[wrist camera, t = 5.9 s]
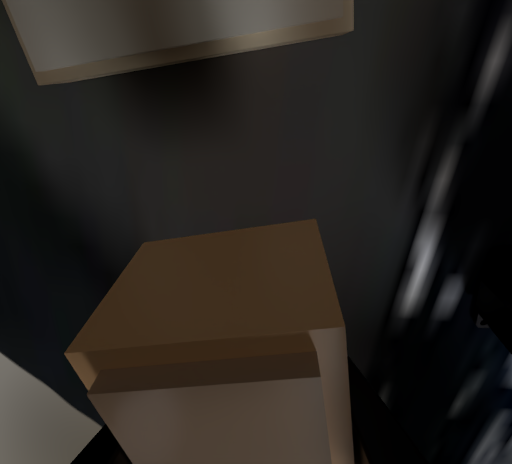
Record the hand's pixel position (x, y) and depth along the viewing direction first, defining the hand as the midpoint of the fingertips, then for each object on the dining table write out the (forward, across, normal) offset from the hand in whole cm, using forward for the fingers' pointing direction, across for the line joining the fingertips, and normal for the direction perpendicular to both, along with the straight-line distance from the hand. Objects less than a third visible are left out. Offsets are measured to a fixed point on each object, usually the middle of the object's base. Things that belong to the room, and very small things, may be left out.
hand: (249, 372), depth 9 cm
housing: (+2, 0, 0) cm, 2 cm away
